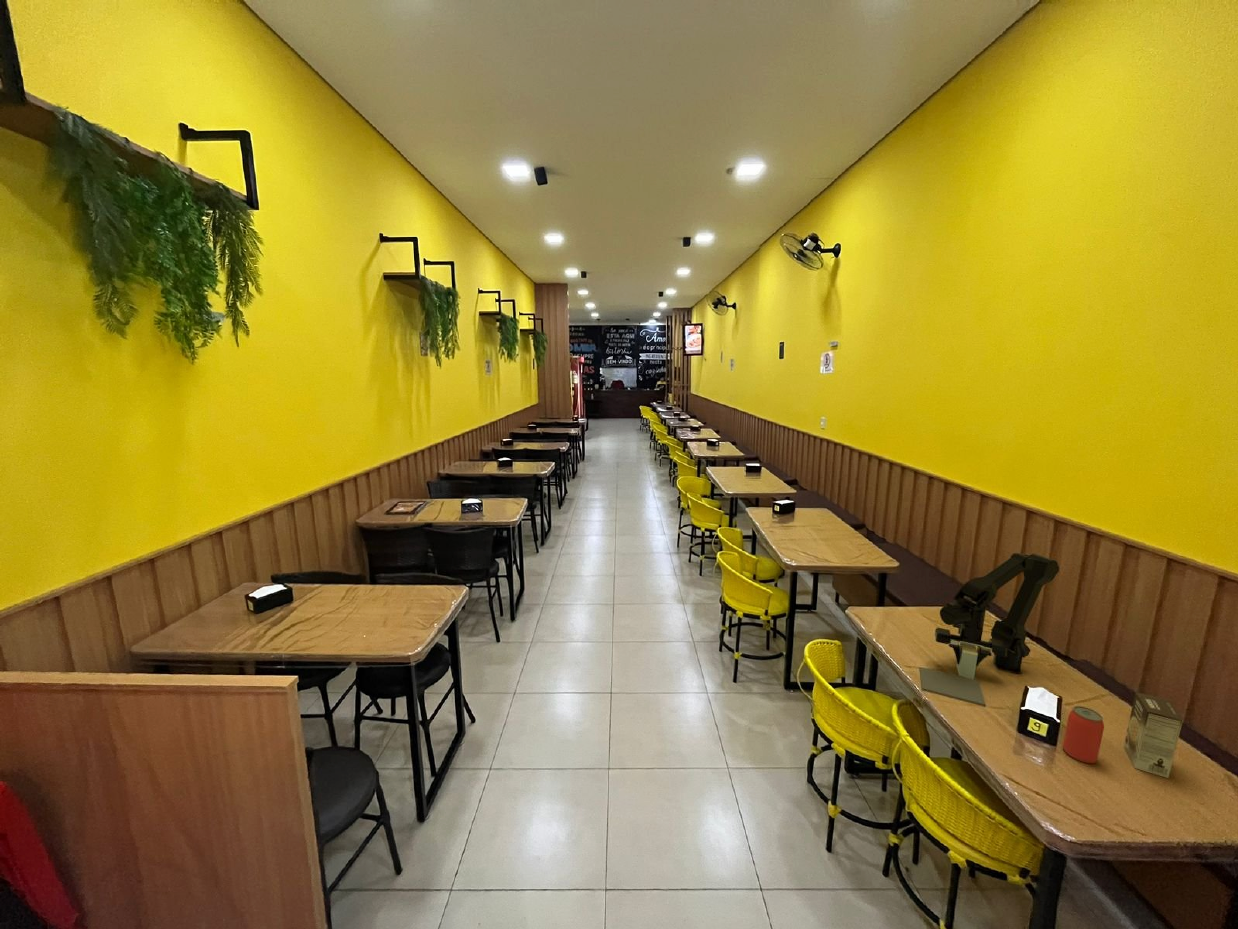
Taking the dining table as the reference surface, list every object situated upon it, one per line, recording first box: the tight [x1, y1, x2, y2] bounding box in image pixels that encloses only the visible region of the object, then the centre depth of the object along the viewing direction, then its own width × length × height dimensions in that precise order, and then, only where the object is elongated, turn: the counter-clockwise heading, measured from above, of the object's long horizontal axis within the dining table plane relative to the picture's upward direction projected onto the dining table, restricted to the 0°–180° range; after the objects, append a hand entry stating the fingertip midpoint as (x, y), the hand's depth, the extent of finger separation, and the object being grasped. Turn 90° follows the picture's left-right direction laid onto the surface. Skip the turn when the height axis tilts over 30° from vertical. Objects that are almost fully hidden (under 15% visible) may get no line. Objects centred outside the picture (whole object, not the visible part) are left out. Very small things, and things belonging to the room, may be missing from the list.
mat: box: [919, 666, 987, 707], centre depth 154 cm, size 16×13×1 cm
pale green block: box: [956, 642, 978, 680], centre depth 161 cm, size 4×6×9 cm, turn 152°
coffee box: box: [1123, 692, 1184, 779], centre depth 123 cm, size 9×6×16 cm
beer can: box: [1062, 705, 1105, 764], centre depth 126 cm, size 7×7×12 cm
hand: (966, 665), depth 161 cm, fingers closed on pale green block, 4 cm apart
